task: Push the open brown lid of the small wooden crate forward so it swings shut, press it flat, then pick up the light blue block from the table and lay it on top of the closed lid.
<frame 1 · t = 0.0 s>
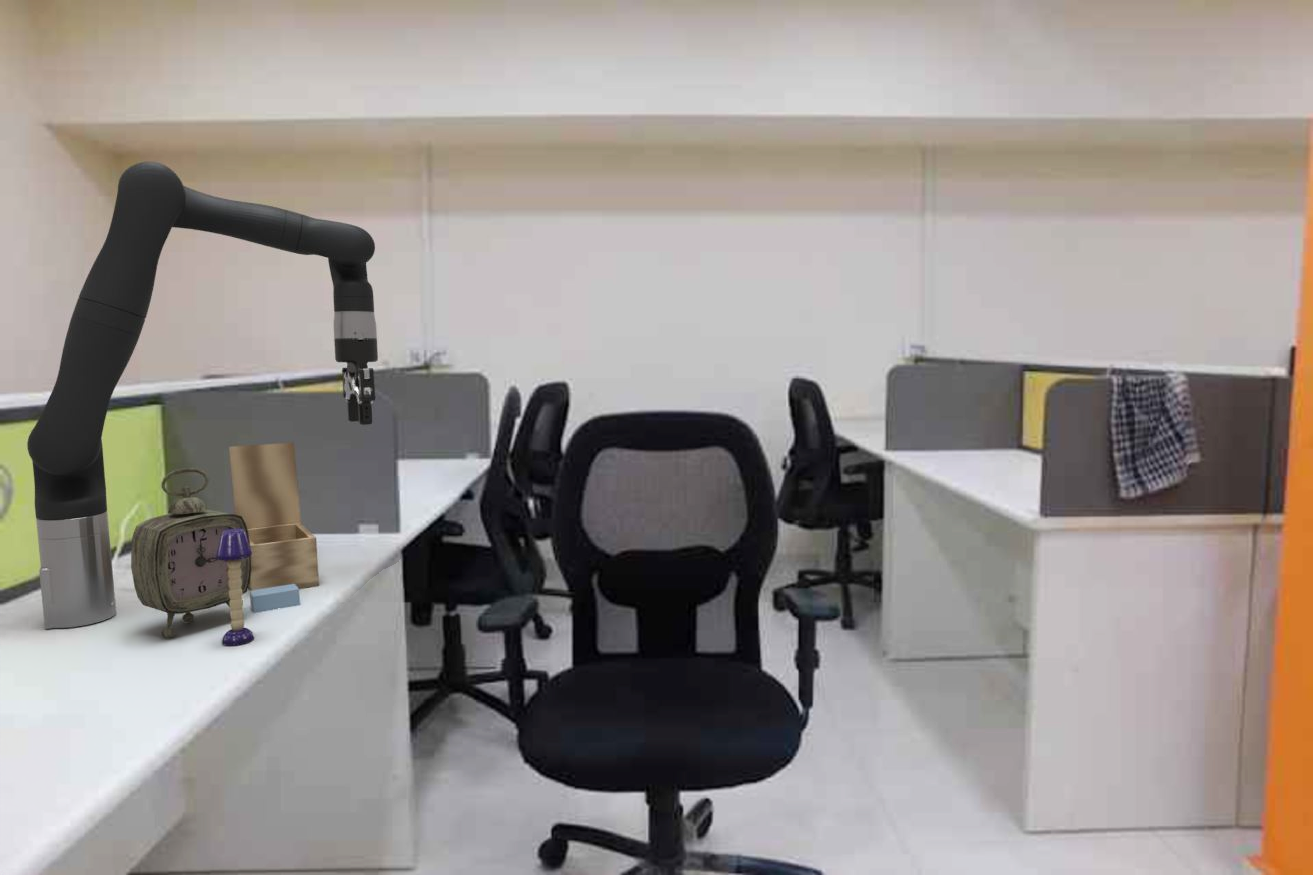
hand: (360, 422, 151), 29 cm above the table, tool pointing down, fingers open, 8 cm apart
toy lamp: (240, 641, 118), on the table
tabletop clock: (195, 625, 125), on the table
hardback book: (244, 559, 168), on the table
crate: (279, 580, 149), on the table
lid: (265, 485, 156), point 17 cm above the table, hinge at 100.0°
light blue block: (275, 607, 135), on the table
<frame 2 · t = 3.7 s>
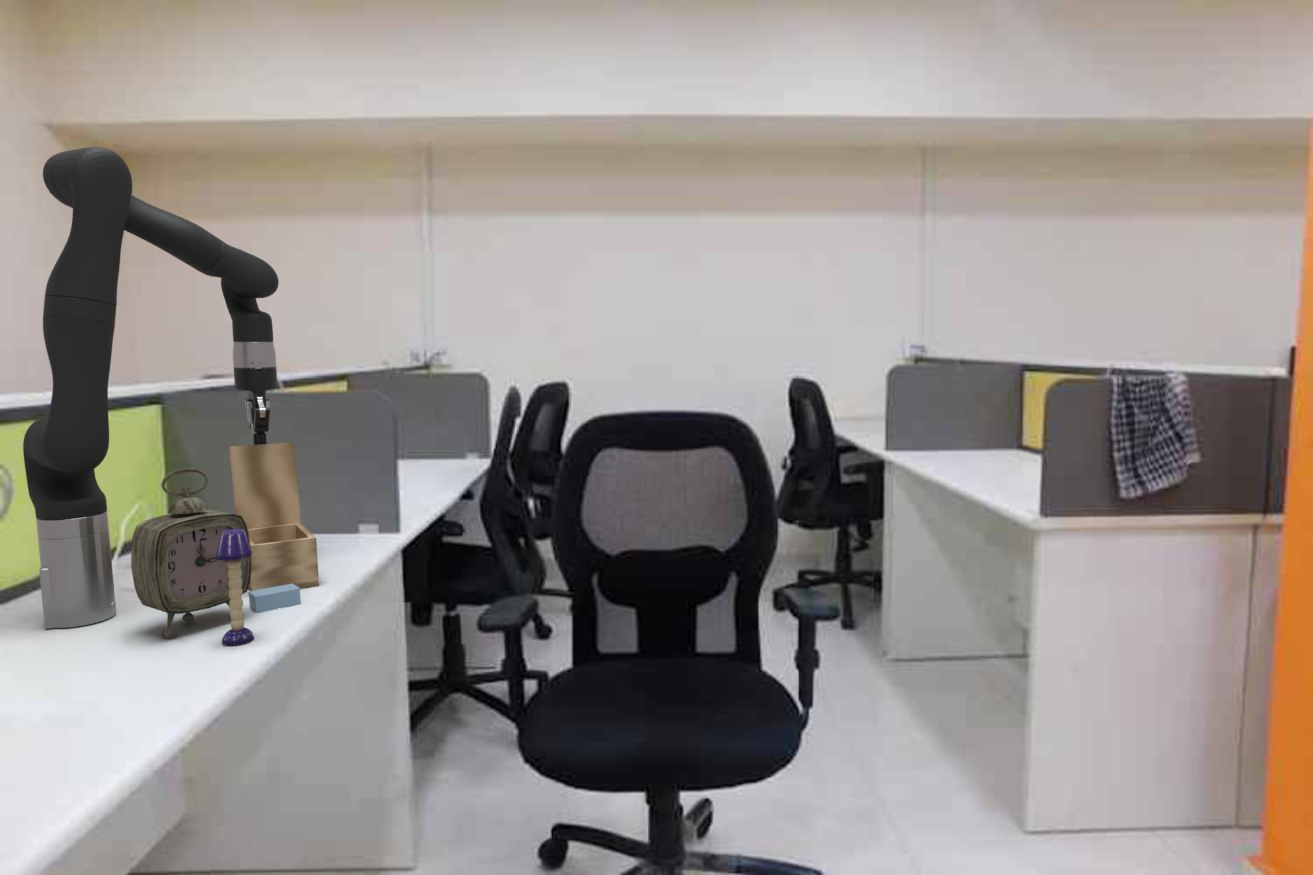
hand: (260, 452, 157), 23 cm above the table, tool pointing down, fingers closed
lid: (265, 485, 155), point 17 cm above the table, hinge at 97.8°, touching gripper
everything else where it was.
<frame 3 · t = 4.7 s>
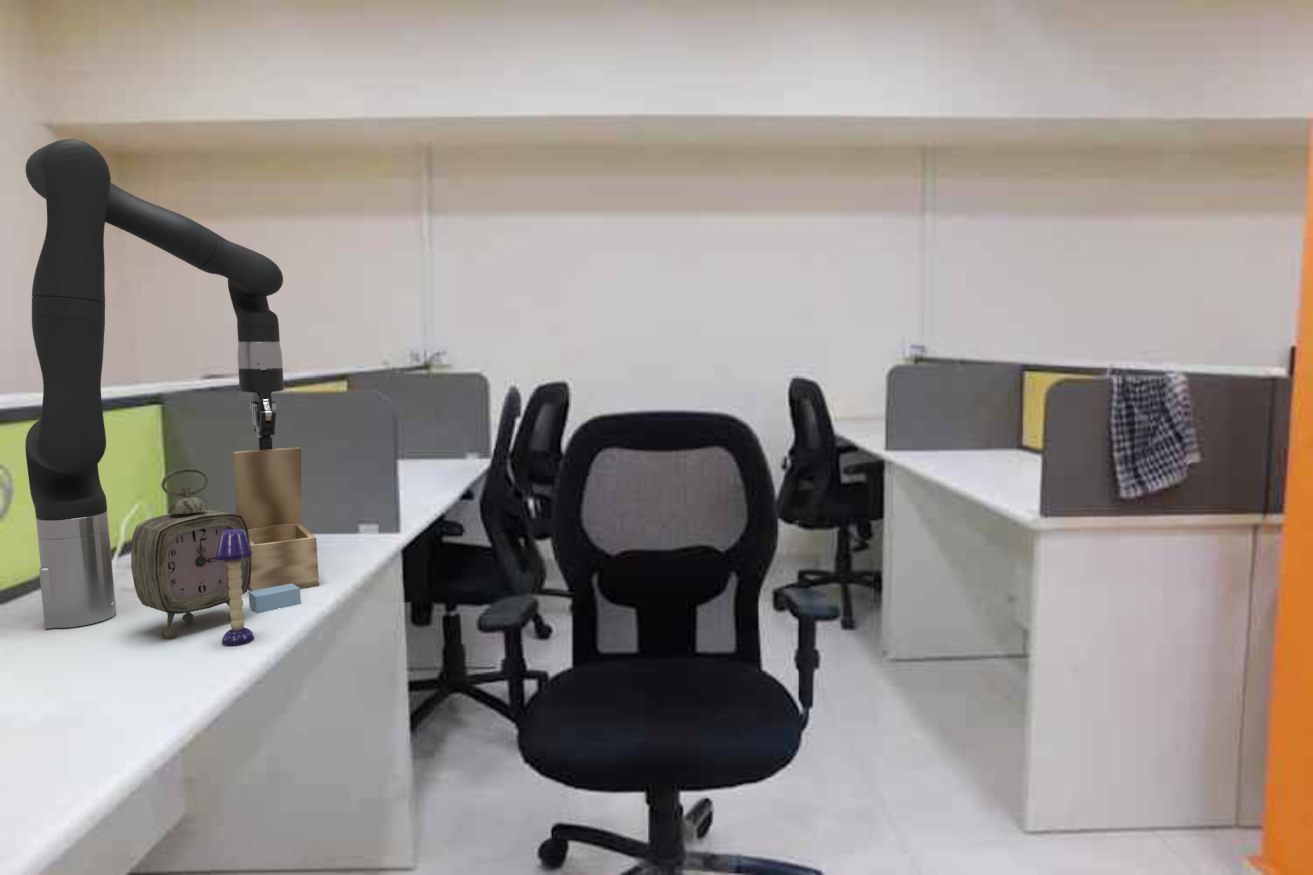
hand: (266, 457, 151), 23 cm above the table, tool pointing down, fingers closed
lid: (268, 488, 152), point 17 cm above the table, hinge at 72.2°, touching gripper
everything else where it was.
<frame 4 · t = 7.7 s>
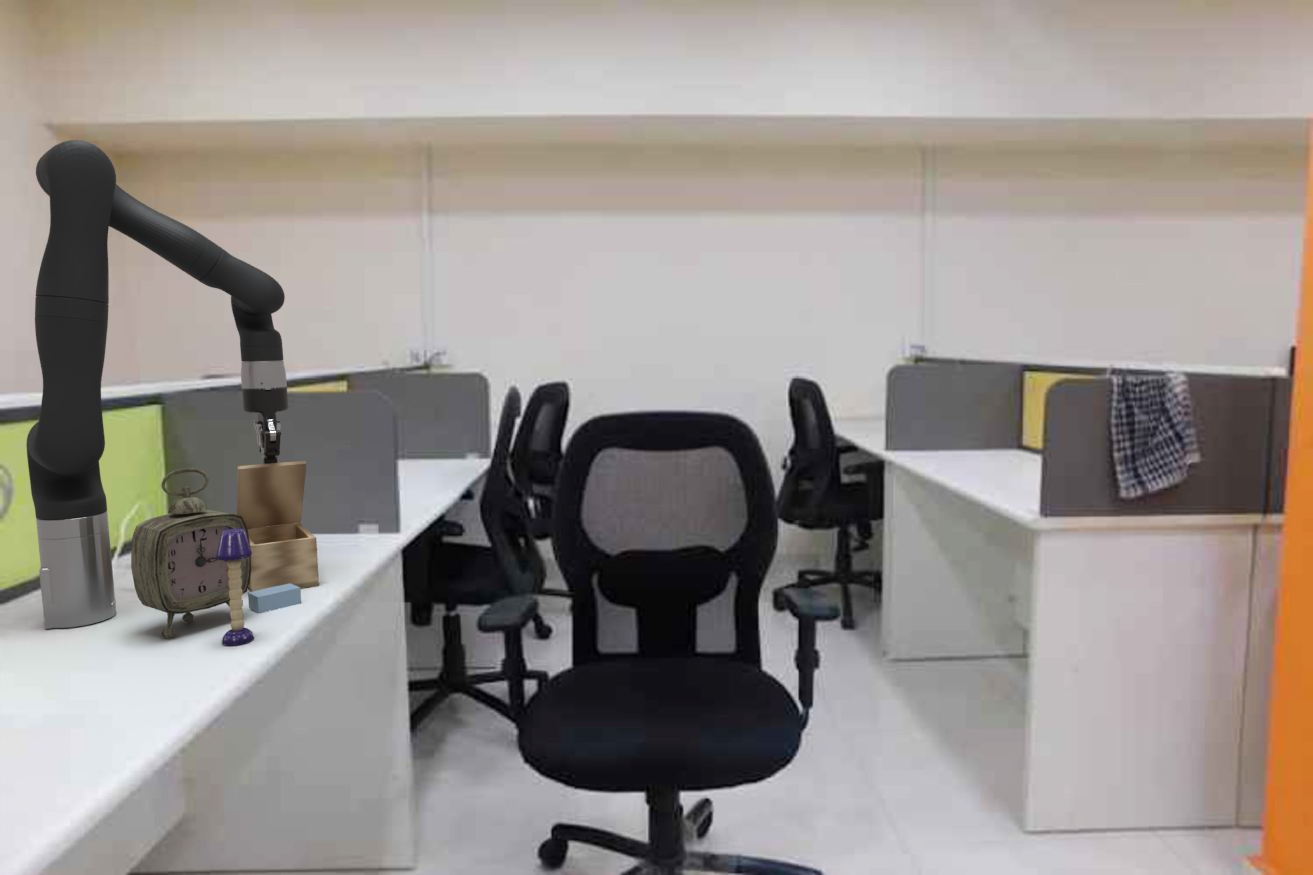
hand: (271, 477, 149), 19 cm above the table, tool pointing down, fingers closed
lid: (270, 495, 151), point 16 cm above the table, hinge at 53.3°
everything else where it was.
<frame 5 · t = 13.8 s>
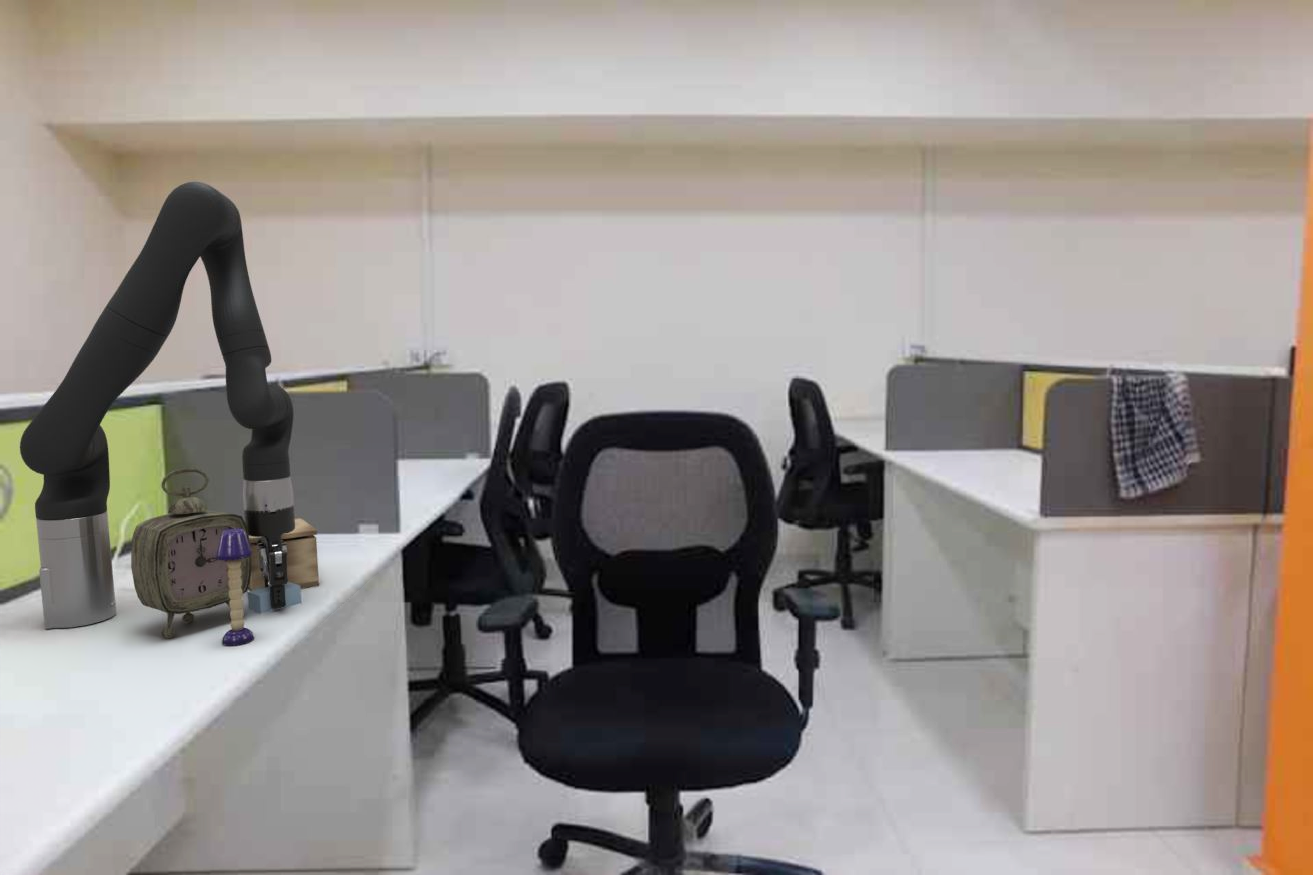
hand: (275, 602, 134), 0 cm above the table, tool pointing down, fingers closed on light blue block, 5 cm apart
lid: (275, 529, 148), point 10 cm above the table, hinge at 1.7°
light blue block: (275, 605, 134), on the table, touching gripper
when the fingers open (11 cm above the table, at t = 18.1 s): light blue block stays where it is, resting on lid.
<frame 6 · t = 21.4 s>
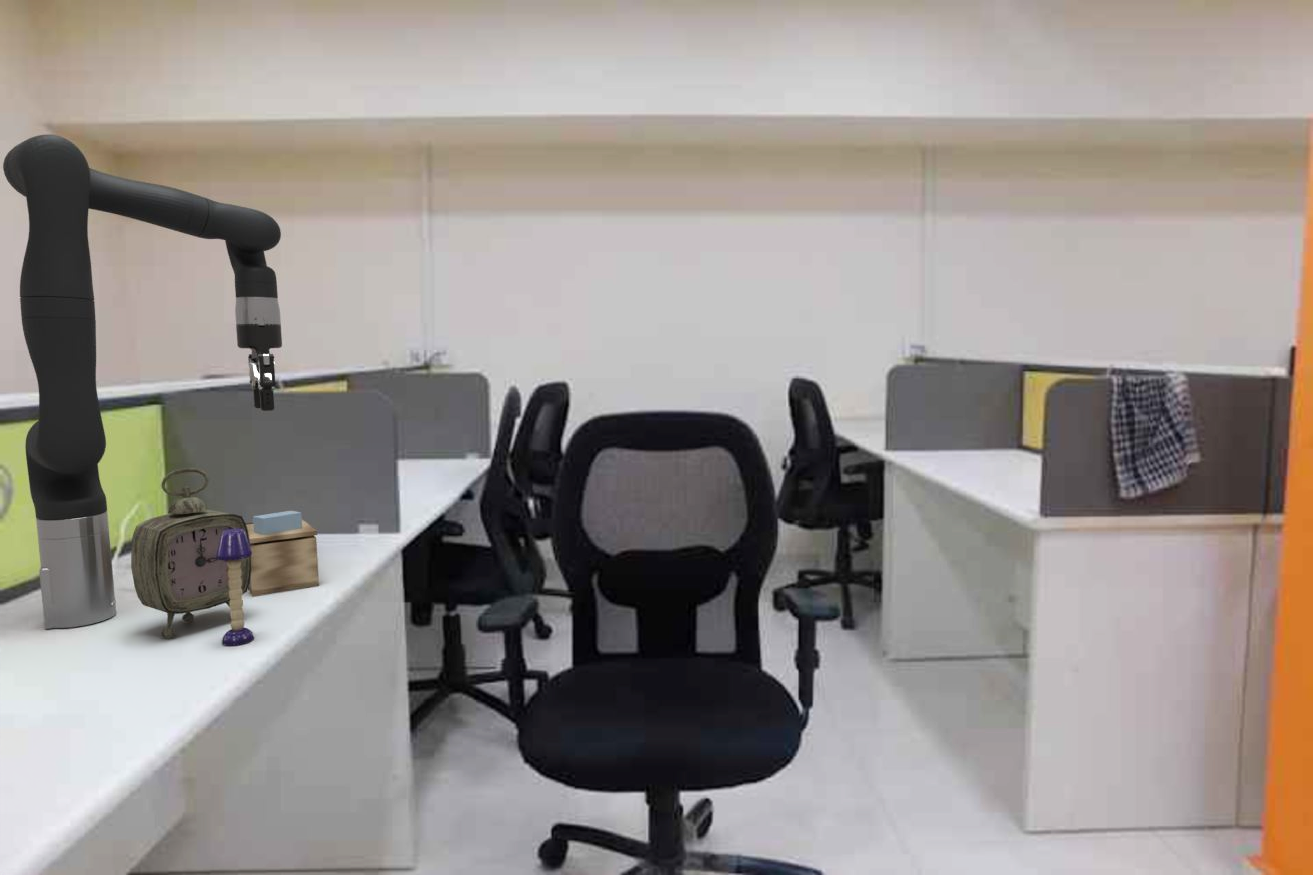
hand: (264, 409, 150), 32 cm above the table, tool pointing down, fingers open, 8 cm apart
lid: (275, 530, 148), point 10 cm above the table, hinge at 1.4°, touching light blue block
light blue block: (278, 530, 146), point 10 cm above the table, touching lid
at the end: lid at +1° (first picture: +100°); light blue block inside the target area on the crate (3.0 cm from its centre), point 10.2 cm above the crate's base; the gripper is holding nothing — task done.
